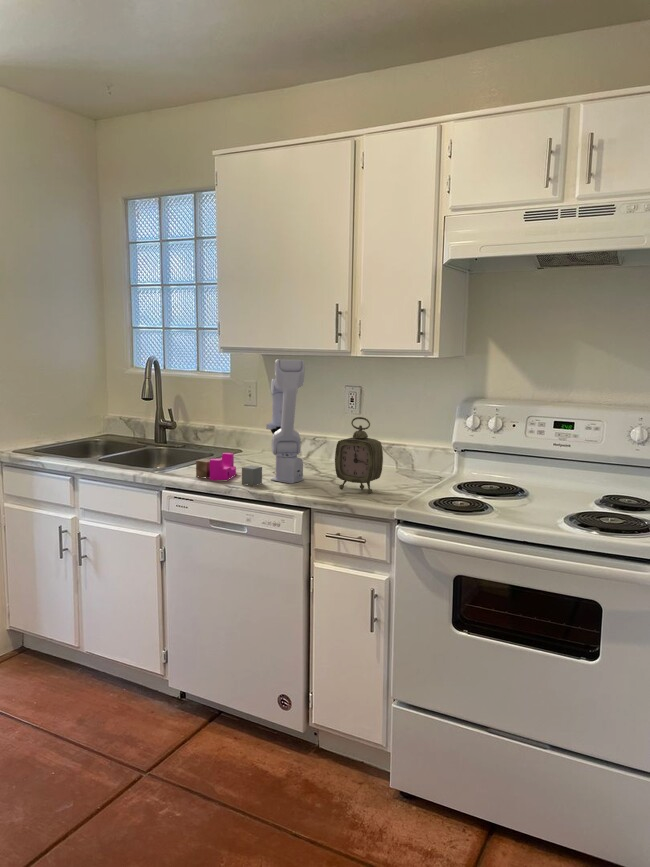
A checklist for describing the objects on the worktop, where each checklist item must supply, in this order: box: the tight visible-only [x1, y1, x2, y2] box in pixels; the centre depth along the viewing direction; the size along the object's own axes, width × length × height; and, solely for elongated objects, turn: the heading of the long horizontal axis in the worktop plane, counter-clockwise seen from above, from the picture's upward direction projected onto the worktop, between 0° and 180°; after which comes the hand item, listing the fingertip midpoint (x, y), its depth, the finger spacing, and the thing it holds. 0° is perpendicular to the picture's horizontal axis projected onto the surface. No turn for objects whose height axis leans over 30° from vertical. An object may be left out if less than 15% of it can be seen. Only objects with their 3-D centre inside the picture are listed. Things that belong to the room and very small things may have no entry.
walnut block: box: [195, 458, 212, 479], centre depth 242 cm, size 5×5×6 cm
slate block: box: [241, 464, 263, 486], centre depth 231 cm, size 5×5×6 cm
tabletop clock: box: [334, 416, 384, 494], centre depth 224 cm, size 14×9×25 cm, turn 59°
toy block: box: [209, 452, 237, 481], centre depth 243 cm, size 15×6×8 cm, turn 169°
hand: (279, 446), depth 255 cm, fingers closed
